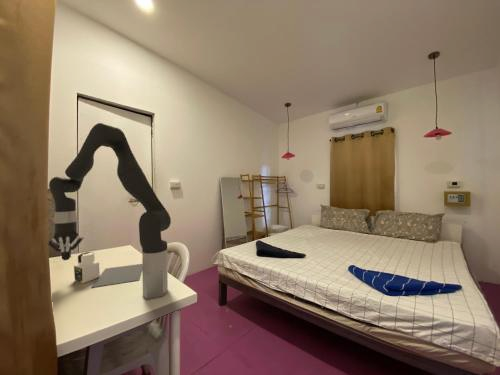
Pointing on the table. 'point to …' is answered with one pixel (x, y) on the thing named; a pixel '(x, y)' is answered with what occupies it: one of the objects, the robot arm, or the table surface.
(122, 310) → the table surface
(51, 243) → the robot arm
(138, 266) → the mat
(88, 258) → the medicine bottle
